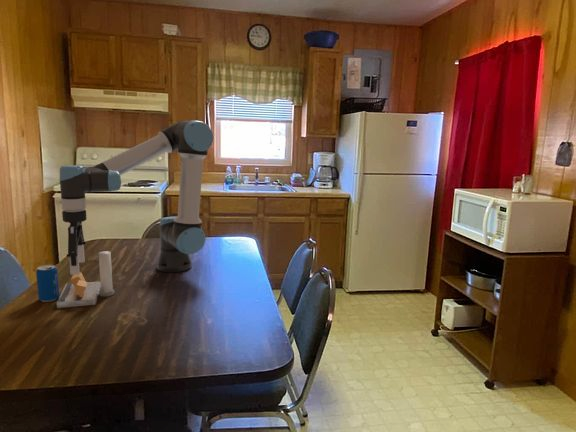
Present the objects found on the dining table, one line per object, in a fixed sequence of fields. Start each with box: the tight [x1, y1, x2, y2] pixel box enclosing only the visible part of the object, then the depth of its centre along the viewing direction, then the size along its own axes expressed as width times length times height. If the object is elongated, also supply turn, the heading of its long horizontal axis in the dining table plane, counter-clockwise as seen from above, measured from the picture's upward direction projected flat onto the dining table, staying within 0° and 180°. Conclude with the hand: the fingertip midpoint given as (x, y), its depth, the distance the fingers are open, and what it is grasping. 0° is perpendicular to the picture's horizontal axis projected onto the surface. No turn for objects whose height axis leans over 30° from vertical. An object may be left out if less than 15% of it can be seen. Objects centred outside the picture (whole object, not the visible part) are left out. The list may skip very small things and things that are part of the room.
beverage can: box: [35, 264, 60, 303], centre depth 147 cm, size 6×6×12 cm
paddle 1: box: [70, 271, 87, 289], centre depth 155 cm, size 3×6×5 cm, turn 18°
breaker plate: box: [56, 281, 101, 309], centre depth 152 cm, size 12×18×2 cm, turn 19°
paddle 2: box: [73, 280, 89, 298], centre depth 147 cm, size 3×6×5 cm, turn 19°
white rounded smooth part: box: [98, 250, 116, 298], centre depth 153 cm, size 5×5×16 cm
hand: (77, 267), depth 150 cm, fingers open, 13 cm apart
